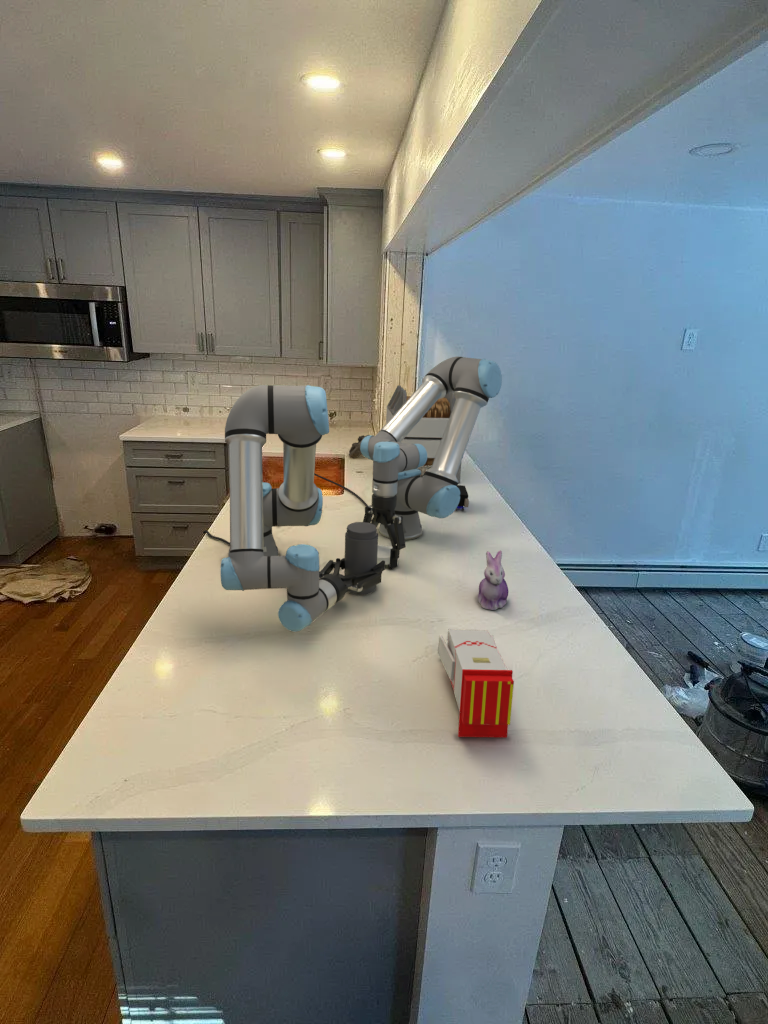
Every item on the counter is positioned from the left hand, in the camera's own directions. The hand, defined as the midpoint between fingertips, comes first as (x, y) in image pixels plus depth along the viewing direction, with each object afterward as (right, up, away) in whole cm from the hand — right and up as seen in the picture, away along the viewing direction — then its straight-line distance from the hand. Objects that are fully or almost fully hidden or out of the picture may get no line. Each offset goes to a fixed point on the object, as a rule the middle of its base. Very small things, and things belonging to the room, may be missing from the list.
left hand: (368, 561), depth 162 cm
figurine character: (+35, +16, +68) cm, 78 cm away
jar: (-2, -7, -2) cm, 8 cm away
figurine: (+34, -11, -7) cm, 36 cm away
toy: (+22, -24, -44) cm, 54 cm away
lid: (+4, +2, +13) cm, 14 cm away
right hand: (+4, -2, +14) cm, 15 cm away
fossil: (-8, +45, +143) cm, 150 cm away
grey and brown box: (+22, +33, +113) cm, 120 cm away
